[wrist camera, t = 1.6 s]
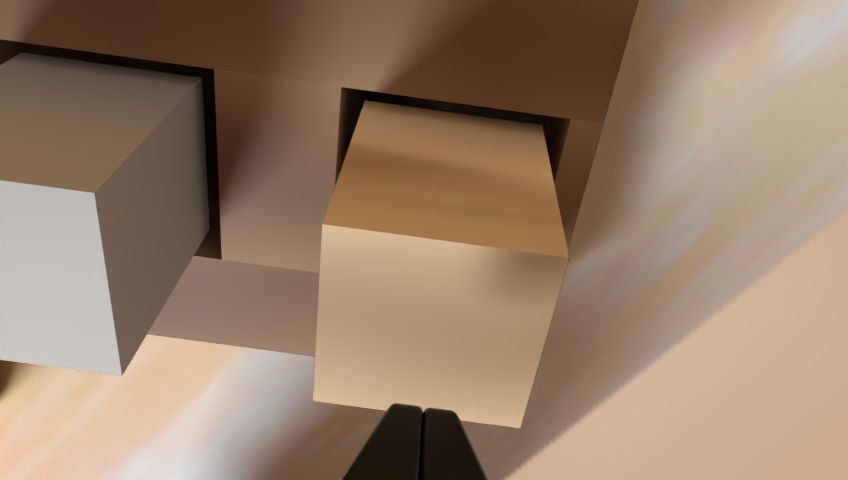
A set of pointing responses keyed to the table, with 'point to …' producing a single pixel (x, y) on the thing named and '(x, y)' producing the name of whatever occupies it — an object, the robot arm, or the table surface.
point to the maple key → (438, 265)
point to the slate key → (94, 206)
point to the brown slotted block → (331, 116)
